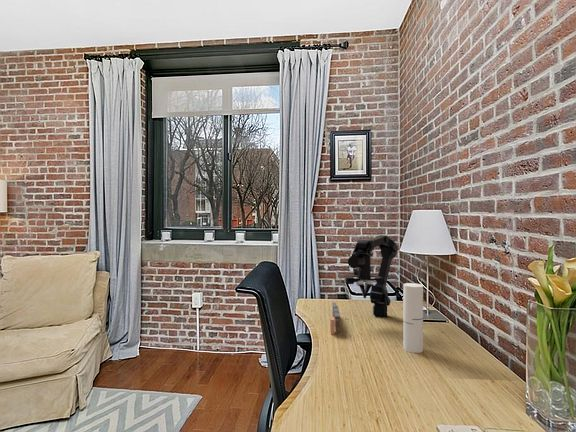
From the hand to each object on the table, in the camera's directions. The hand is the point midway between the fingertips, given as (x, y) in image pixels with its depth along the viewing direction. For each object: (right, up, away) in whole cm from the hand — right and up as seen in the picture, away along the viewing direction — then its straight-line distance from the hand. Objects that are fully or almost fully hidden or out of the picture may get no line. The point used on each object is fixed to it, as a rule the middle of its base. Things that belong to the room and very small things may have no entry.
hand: (364, 298), depth 158 cm
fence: (-15, -12, -2) cm, 20 cm away
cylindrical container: (+12, -12, -31) cm, 35 cm away
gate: (-15, -11, -7) cm, 20 cm away
